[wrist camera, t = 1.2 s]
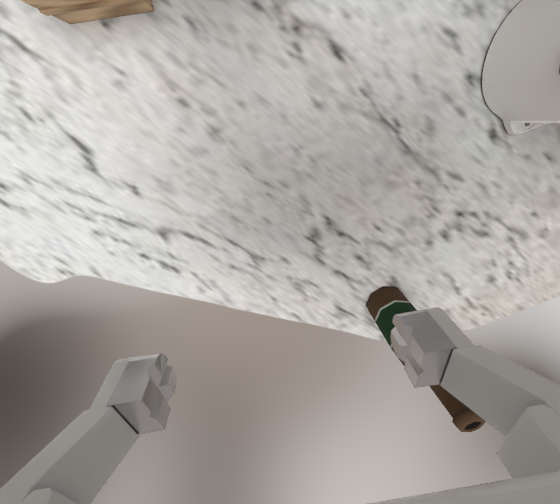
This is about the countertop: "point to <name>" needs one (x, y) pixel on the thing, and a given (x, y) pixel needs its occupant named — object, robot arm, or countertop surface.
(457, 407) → the beer bottle
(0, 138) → the countertop surface
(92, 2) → the oak crate
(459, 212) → the countertop surface
